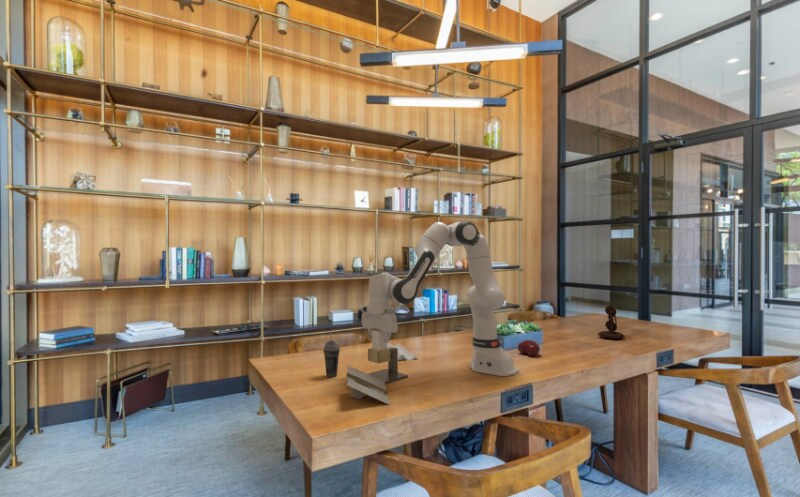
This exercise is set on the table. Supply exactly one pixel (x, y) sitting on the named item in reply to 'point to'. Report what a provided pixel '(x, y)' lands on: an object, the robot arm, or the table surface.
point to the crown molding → (402, 352)
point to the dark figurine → (611, 325)
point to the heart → (529, 347)
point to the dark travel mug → (331, 358)
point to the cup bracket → (392, 371)
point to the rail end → (378, 340)
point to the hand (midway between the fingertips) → (379, 340)
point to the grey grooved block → (365, 385)
